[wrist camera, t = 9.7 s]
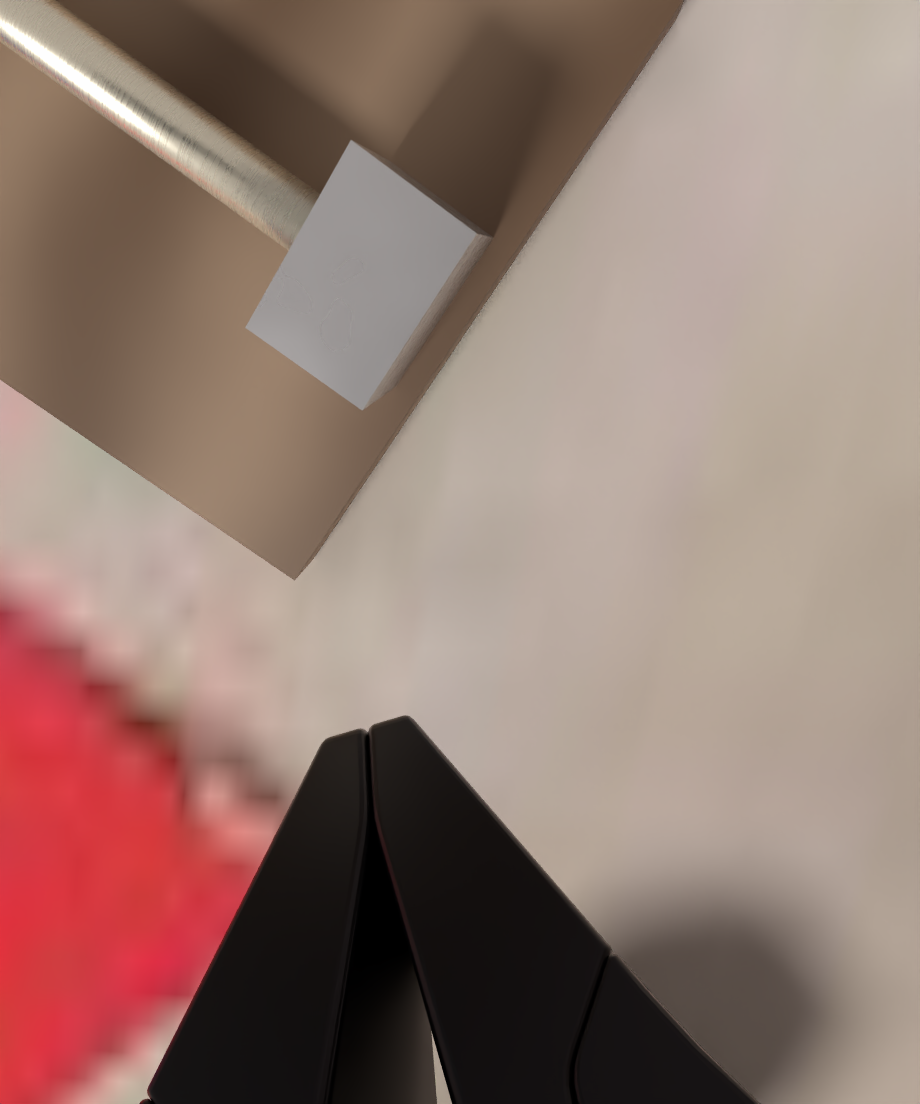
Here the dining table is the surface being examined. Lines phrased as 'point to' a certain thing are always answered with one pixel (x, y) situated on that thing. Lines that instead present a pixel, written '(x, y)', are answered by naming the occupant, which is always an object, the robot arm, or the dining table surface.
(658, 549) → the dining table surface
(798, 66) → the dining table surface
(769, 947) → the dining table surface
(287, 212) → the rod with end blocks
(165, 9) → the cord board
